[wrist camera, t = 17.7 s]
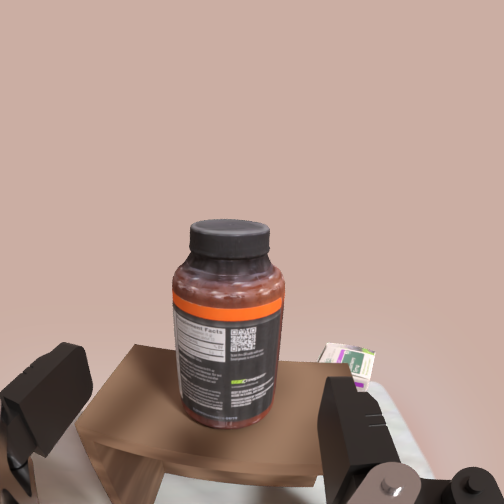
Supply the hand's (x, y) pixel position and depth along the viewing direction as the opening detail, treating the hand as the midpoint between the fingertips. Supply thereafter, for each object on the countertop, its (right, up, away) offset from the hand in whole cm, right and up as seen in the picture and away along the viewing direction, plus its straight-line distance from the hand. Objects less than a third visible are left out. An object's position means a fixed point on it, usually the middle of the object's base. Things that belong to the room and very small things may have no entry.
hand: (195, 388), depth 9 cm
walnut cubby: (0, -22, +14) cm, 26 cm away
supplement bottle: (0, -6, +9) cm, 11 cm away
